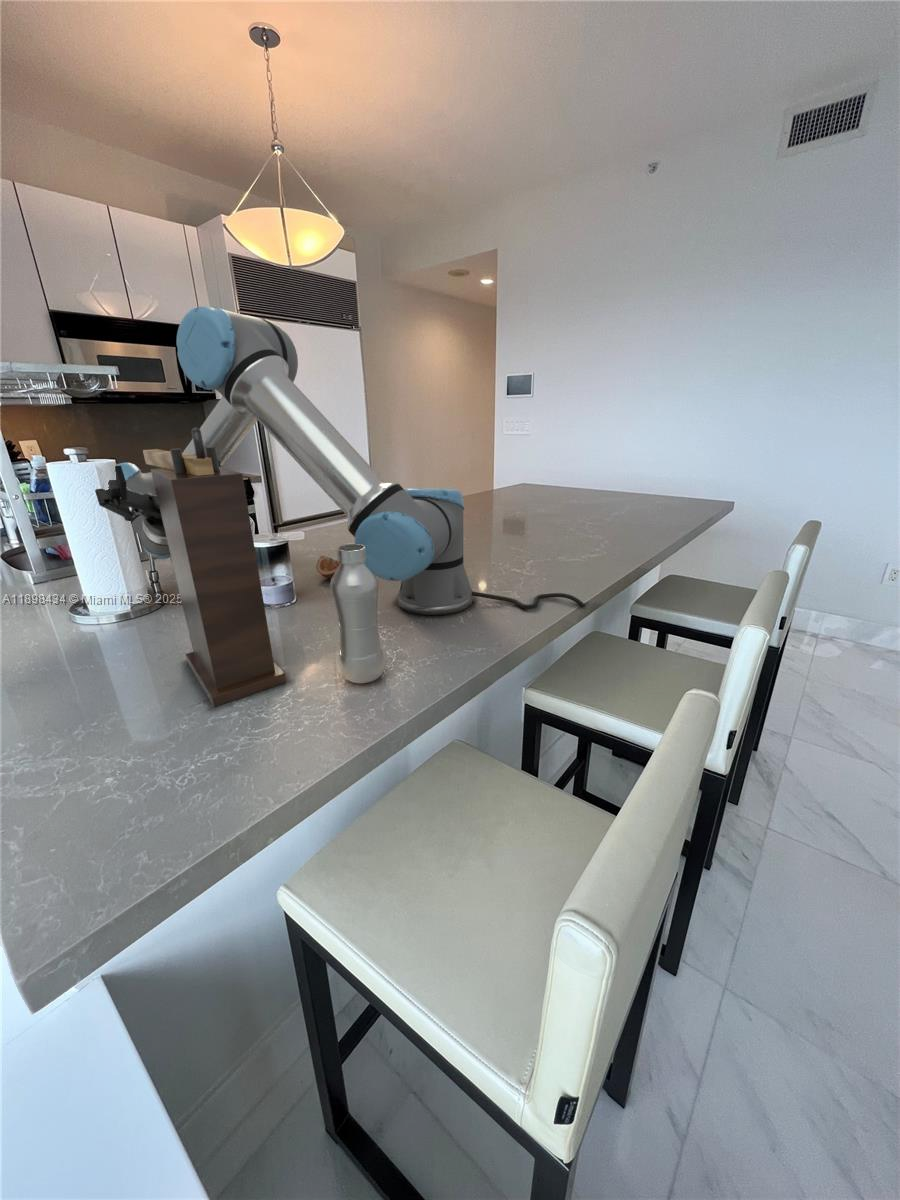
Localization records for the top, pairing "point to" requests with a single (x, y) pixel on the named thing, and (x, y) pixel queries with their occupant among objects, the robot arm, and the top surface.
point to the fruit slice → (327, 566)
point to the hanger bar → (192, 463)
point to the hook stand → (217, 579)
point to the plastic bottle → (357, 616)
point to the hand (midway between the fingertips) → (172, 470)
